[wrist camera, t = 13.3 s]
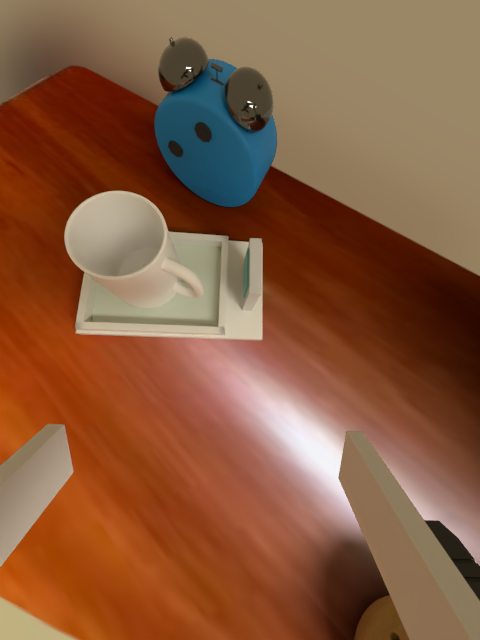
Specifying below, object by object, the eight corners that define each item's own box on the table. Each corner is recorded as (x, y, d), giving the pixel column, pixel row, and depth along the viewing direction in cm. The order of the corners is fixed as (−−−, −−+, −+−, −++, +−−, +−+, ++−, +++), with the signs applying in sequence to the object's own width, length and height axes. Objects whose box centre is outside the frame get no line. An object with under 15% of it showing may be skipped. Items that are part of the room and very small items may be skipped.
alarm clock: (265, 192, 36) (299, 68, 21) (248, 224, 34) (271, 116, 20) (186, 153, 36) (165, 3, 21) (165, 184, 34) (127, 47, 20)
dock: (261, 246, 34) (274, 209, 26) (260, 340, 31) (275, 330, 23) (96, 235, 32) (57, 191, 24) (80, 334, 29) (30, 321, 21)
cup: (136, 237, 31) (99, 175, 21) (220, 277, 31) (222, 233, 21) (101, 292, 29) (42, 251, 19) (190, 334, 29) (177, 316, 19)
